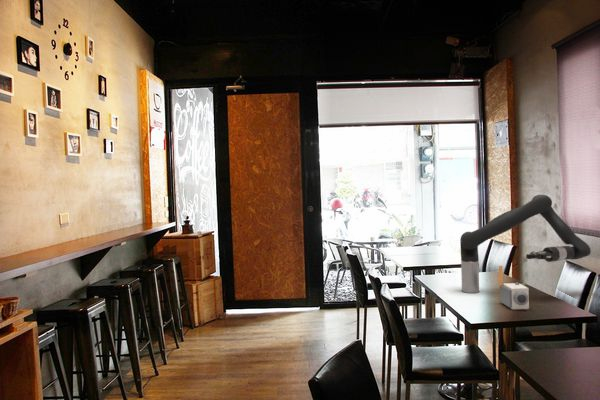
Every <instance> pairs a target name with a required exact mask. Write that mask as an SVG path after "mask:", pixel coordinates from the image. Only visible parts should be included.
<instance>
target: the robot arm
mask: <svg viewBox="0 0 600 400" xmlns="http://www.w3.org/2000/svg"><path fill="white" fill-rule="evenodd" d="M552 201H553V200H552V198H551V197H550V196H548V195H546V194H537V195H534V196H533V197H532V199H531V200H530V201H528V202H526V203H525V204H524V205H521V206H518V207H516V208H514V209H511V210H508V211H505V212H504V213H502V214H500V215H498V216H496V217H493V219H491V220H490V221H488V222H487V223H485V224H484V225H483V226H482V227H479V228H478V229H476V230H473V231H466V232H464V233H462V235H460V240H459V241H460V242H459V243H460V267H461V268H460V269H461V271H460V272H461V291H462V292H463V293H467V294H476V293H479V292H480V274H479V273H480V272H479V271H480V267H479V266H480V264H479V263H480V262H479V246H480V245H481V244H483V243H485V242H486V241H488V240H490V239H492V238H495V237H497V236H499V235H501V234H503V233H506V232H508V231H510V230H512V229H513V228H515V227H517V226H518V225H519V226H520V224H522V223H524V222H525V221H527V220H529V219H530V218H532V217H535V216H537V215H540V216H542V218H543V219H544V220H546V222H547V223H548V225H549V226H550V227H551V228H552V229H553V231H554V233H555V234H556V235H557V236H558V237H559V239H560V240H561V241H562V242H563V243H564V245H560V246H547V247H544V248H543V250H538V251H531V252H529V254H526V255H525V259H526V260H527V259H528V260H532V259H534V260H545V261H546V262H547V263H550V262H559V261H565V260H580V259H582V258H585V257H588V256H590V255H591V252H592V251H591V247H590V245H589V244H588V243H587V242H585V241H584V240H583V239H582V238H580V237H579V236H578V235H576V233H575V232H574V231H573V229H571V227H570V226H569V225H568V224H567V222H565V221H564V220H563V219H562V218H561V216H559V215H558V214H557V212H556V211H555V210H554V208H553V206H552V205H553V202H552ZM569 245H571V246H569Z"/></svg>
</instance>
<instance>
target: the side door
mask: <svg viewBox="0 0 600 400" xmlns="http://www.w3.org/2000/svg"><path fill="white" fill-rule="evenodd" d="M503 280H504V279H503V265H498V284H499V300H500V301H499V302H500V303H502V304H503V305H505V306H507V307H508V308H509V309H511V308H512V307H511V290H510V289H508V288H506V287H504V286H503V284H504V283H503V282H504V281H503Z"/></svg>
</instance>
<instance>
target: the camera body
mask: <svg viewBox="0 0 600 400" xmlns="http://www.w3.org/2000/svg"><path fill="white" fill-rule="evenodd" d="M503 286H504V287H506V288H508V289H510V290H511V307H512V308H510V310H529V309H530V303H529V302H530V301H529V300H530V298H529V297H530V292H529V290H530V289H529V287H528V286H527V287H525V286H523V285H521V283H520V282H517V281H516V282H512V283H509V282H508V283H503Z"/></svg>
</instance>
